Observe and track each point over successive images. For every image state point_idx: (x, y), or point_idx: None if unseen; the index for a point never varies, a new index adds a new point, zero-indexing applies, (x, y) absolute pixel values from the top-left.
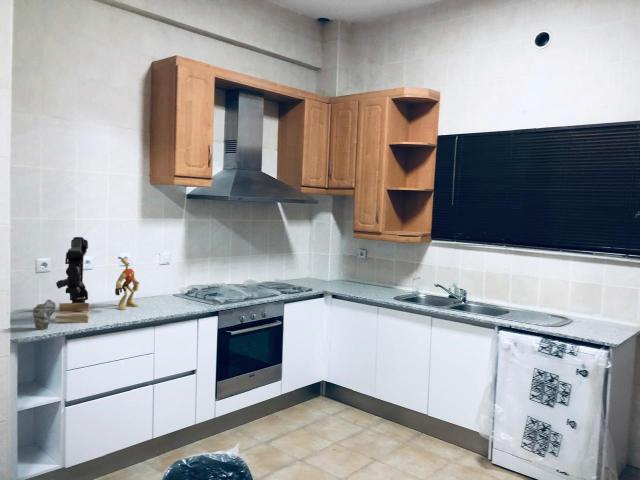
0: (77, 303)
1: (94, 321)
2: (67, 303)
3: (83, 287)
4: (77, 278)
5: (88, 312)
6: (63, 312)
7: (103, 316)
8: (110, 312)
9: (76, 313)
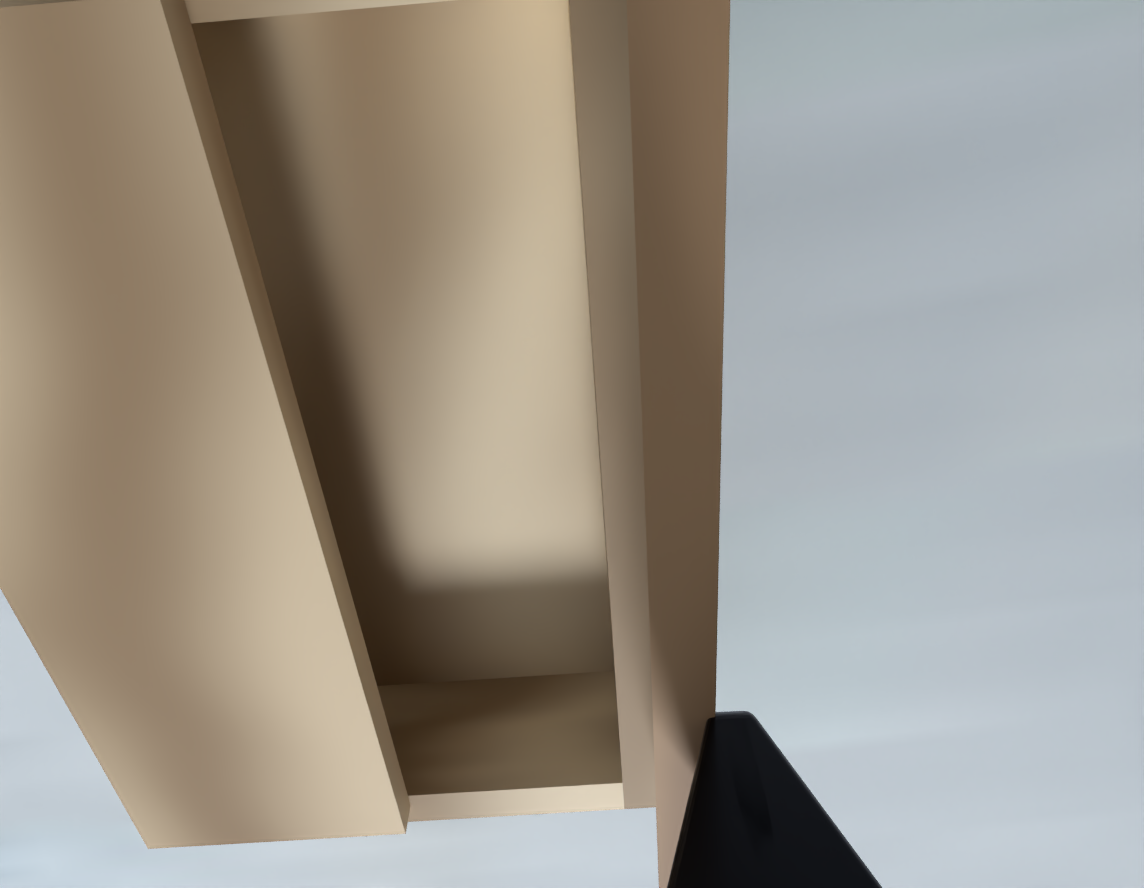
0: (658, 849)
1: None
2: (663, 497)
3: None
4: None
5: (566, 800)
6: (613, 149)
7: None
8: (1122, 878)
9: (249, 639)
